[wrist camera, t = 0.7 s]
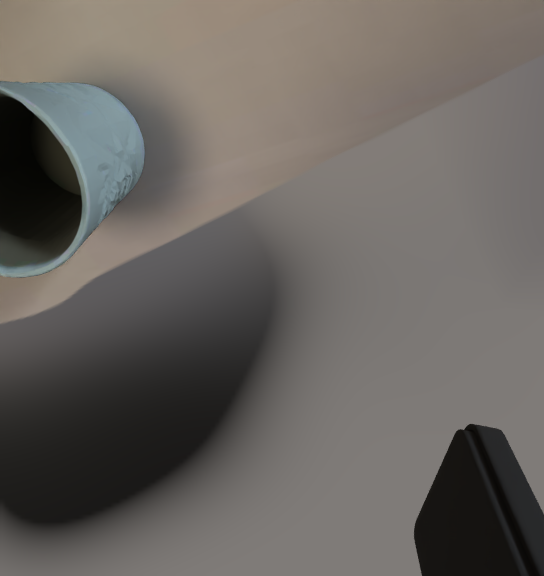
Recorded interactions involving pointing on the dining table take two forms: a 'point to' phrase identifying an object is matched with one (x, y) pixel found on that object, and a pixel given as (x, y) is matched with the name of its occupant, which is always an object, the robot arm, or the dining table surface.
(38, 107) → the light blue cup
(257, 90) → the dining table surface
